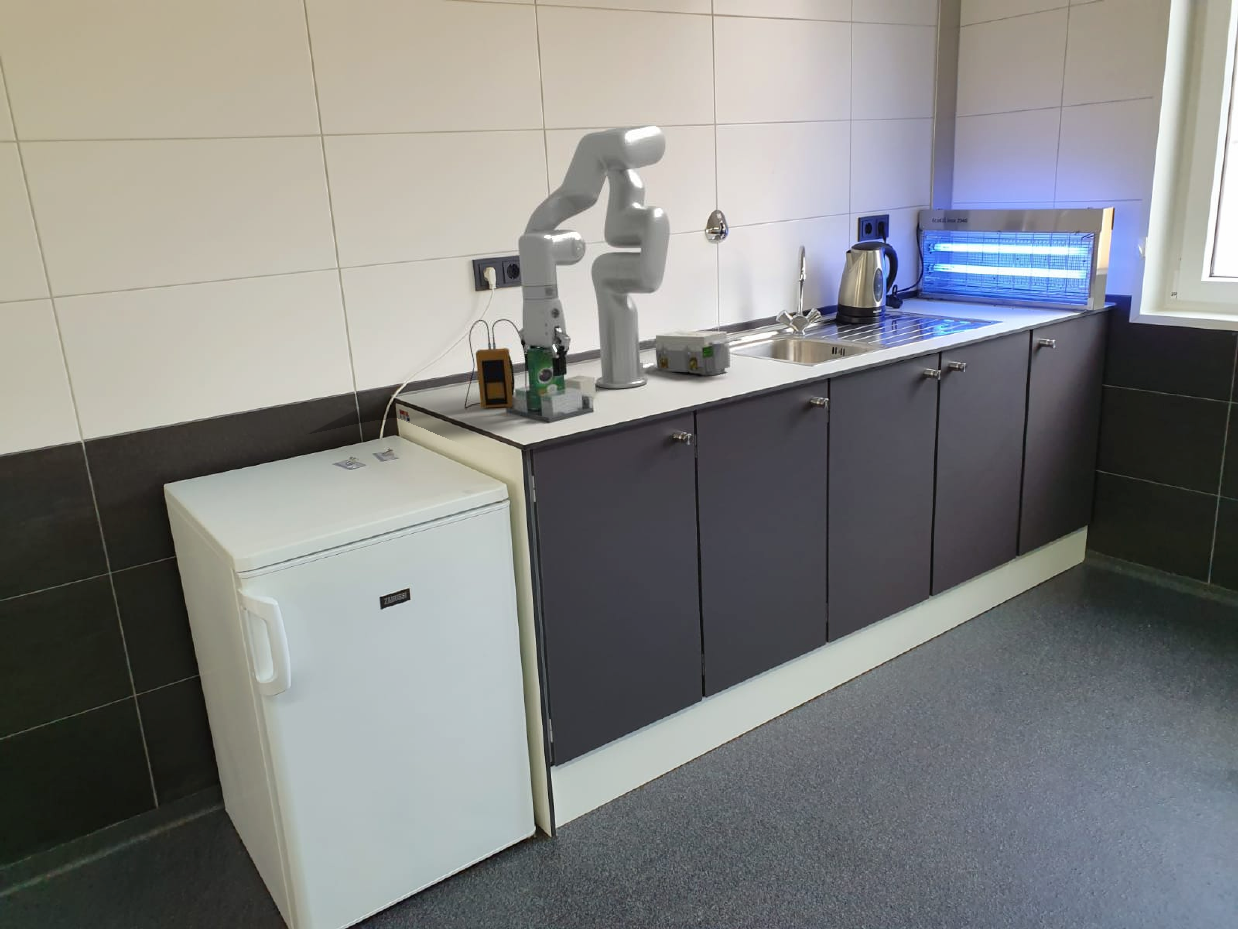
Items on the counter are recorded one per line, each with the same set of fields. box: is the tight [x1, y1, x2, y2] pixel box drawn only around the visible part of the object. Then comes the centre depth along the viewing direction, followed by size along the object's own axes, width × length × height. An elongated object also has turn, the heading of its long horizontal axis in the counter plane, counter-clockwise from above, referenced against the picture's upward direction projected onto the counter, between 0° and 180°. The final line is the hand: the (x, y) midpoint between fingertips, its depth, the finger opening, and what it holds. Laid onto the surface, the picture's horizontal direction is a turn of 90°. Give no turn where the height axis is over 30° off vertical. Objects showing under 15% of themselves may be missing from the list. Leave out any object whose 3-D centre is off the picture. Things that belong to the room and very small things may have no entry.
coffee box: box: [527, 347, 565, 410], centre depth 200 cm, size 8×3×13 cm, turn 130°
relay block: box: [564, 375, 597, 400], centre depth 212 cm, size 5×5×5 cm
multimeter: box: [464, 318, 527, 410], centre depth 211 cm, size 15×10×20 cm
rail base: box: [505, 385, 595, 424], centre depth 202 cm, size 12×16×5 cm
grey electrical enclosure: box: [644, 330, 742, 377], centre depth 236 cm, size 12×28×10 cm, turn 39°
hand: (546, 372), depth 200 cm, fingers open, 9 cm apart
